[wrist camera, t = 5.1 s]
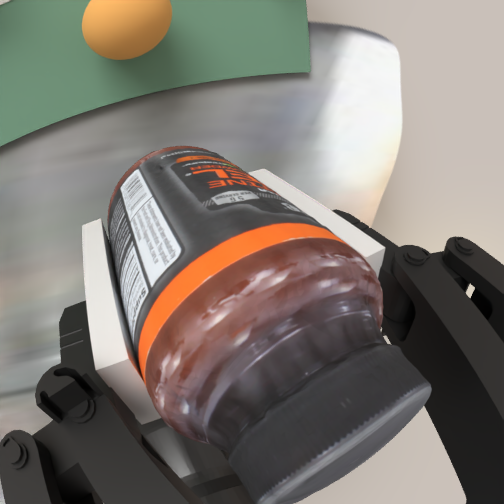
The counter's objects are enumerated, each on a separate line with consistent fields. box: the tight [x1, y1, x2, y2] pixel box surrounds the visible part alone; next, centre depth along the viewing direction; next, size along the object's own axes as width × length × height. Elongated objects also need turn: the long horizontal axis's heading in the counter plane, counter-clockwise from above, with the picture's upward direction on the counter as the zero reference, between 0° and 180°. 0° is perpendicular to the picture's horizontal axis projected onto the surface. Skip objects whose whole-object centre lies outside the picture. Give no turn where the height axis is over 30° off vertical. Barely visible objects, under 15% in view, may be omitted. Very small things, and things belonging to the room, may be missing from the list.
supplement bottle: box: [108, 146, 432, 504], centre depth 9 cm, size 6×6×11 cm
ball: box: [82, 0, 172, 60], centre depth 10 cm, size 4×4×4 cm
